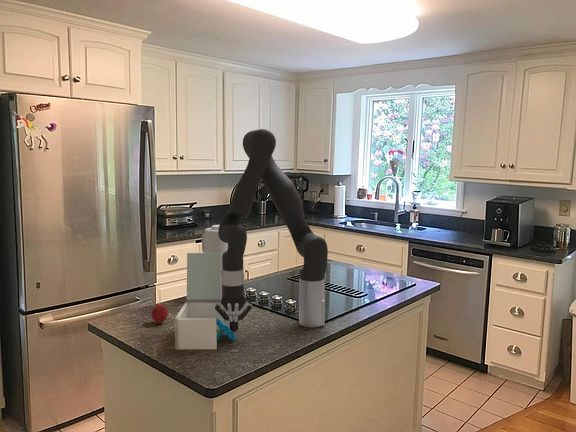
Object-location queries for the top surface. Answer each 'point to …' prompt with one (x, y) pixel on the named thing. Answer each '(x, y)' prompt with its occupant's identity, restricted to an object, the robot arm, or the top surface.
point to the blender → (213, 244)
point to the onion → (159, 313)
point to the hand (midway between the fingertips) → (234, 331)
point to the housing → (197, 326)
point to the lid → (203, 277)
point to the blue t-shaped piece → (224, 330)
